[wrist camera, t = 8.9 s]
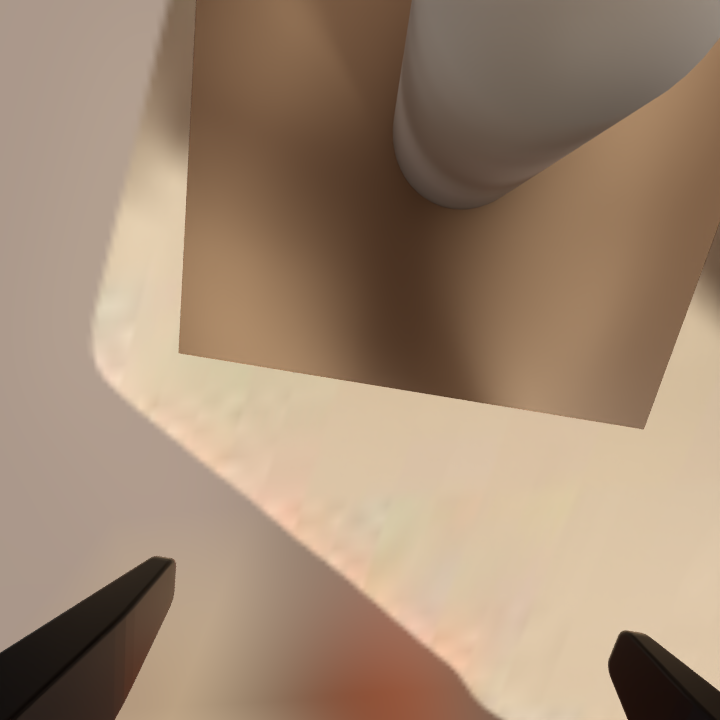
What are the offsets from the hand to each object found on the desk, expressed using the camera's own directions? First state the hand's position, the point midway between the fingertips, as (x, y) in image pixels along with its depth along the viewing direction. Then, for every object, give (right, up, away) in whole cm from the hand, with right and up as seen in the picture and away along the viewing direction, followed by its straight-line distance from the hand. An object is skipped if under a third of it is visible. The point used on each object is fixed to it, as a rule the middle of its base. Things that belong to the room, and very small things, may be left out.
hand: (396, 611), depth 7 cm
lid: (+2, +10, +1) cm, 10 cm away
